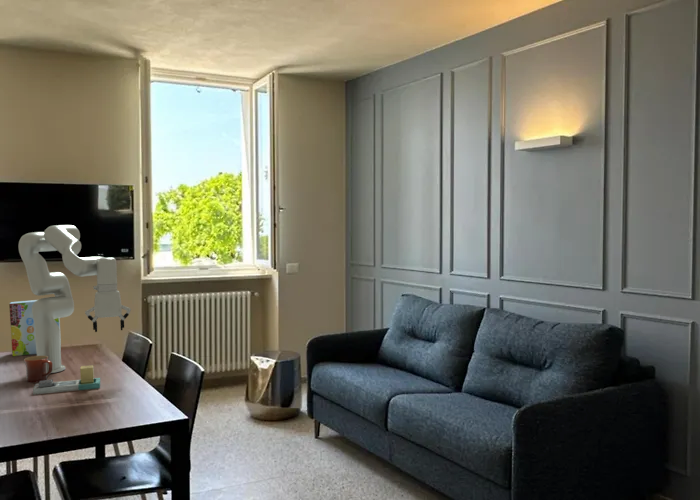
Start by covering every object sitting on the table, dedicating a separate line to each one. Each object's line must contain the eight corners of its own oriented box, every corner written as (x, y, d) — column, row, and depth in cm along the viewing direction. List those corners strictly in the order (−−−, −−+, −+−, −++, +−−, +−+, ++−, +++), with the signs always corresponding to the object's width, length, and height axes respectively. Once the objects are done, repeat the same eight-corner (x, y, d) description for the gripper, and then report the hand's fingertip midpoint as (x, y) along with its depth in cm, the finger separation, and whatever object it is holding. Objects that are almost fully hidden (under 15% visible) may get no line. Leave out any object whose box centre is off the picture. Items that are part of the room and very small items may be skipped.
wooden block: (81, 388, 249) (80, 368, 249) (81, 385, 254) (80, 366, 253) (93, 387, 251) (93, 367, 251) (94, 384, 255) (93, 365, 255)
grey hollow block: (39, 392, 245) (38, 383, 244) (40, 389, 249) (39, 380, 249) (52, 391, 246) (51, 382, 246) (53, 388, 250) (52, 379, 250)
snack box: (61, 348, 330) (58, 298, 329) (61, 352, 322) (58, 300, 321) (12, 353, 322) (10, 301, 320) (11, 356, 314) (8, 303, 312)
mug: (19, 385, 261) (18, 359, 260) (37, 379, 269) (35, 355, 268) (43, 387, 257) (42, 361, 256) (60, 381, 265) (59, 356, 264)
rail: (33, 397, 242) (32, 389, 242) (35, 392, 250) (35, 383, 250) (100, 391, 250) (99, 382, 250) (100, 385, 258) (100, 377, 258)
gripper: (83, 290, 257) (85, 333, 258) (130, 288, 263) (131, 330, 264) (84, 288, 264) (86, 330, 265) (130, 286, 270) (131, 327, 271)
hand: (109, 330), depth 265 cm, fingers open, 9 cm apart
